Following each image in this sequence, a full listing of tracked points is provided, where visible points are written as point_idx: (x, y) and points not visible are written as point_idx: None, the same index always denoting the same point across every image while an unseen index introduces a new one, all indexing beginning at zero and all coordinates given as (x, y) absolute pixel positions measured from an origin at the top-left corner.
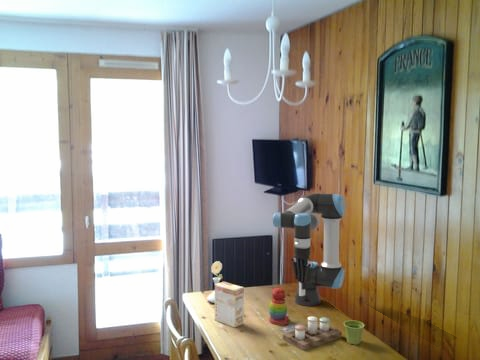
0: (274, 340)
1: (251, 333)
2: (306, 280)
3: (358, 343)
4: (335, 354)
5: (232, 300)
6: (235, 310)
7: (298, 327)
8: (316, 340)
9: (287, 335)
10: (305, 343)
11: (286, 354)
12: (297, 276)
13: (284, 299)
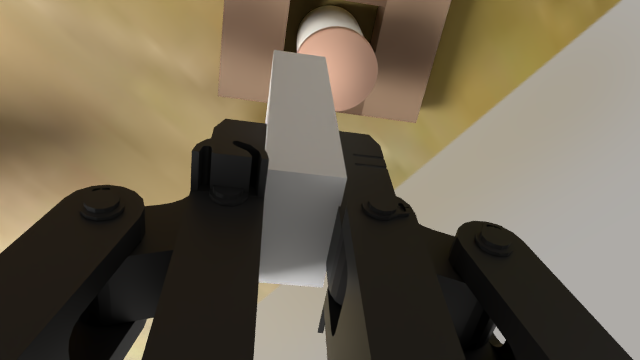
0: (199, 129)
1: (33, 158)
2: (504, 358)
3: None
4: (594, 8)
5: None
6: None
7: (333, 91)
8: (449, 4)
9: (252, 88)
10: (413, 95)
11: None
12: (100, 300)
13: None
